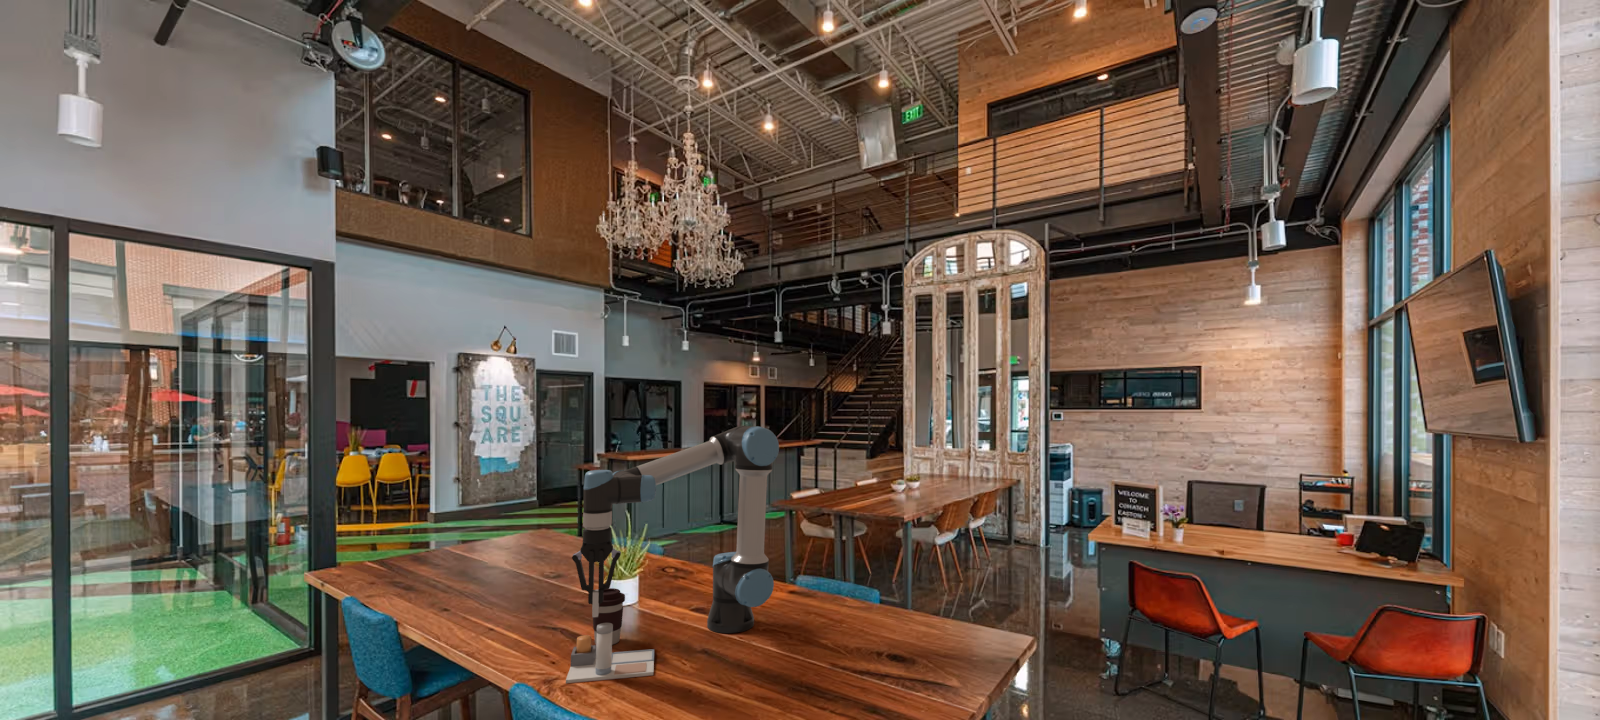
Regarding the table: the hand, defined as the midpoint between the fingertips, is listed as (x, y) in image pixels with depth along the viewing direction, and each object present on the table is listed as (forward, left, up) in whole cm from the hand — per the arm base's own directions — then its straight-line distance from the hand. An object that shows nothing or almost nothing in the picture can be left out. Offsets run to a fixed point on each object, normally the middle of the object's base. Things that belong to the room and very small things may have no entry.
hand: (595, 615), depth 169 cm
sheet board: (-5, -1, -14) cm, 15 cm away
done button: (+3, -5, -12) cm, 14 cm away
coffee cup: (-2, -20, -15) cm, 25 cm away
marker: (-3, +4, -14) cm, 14 cm away
